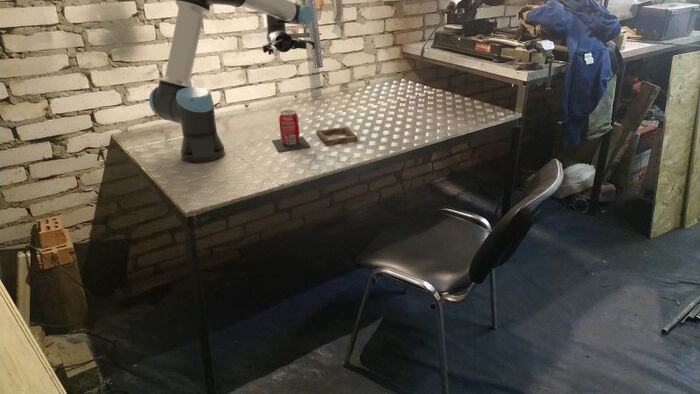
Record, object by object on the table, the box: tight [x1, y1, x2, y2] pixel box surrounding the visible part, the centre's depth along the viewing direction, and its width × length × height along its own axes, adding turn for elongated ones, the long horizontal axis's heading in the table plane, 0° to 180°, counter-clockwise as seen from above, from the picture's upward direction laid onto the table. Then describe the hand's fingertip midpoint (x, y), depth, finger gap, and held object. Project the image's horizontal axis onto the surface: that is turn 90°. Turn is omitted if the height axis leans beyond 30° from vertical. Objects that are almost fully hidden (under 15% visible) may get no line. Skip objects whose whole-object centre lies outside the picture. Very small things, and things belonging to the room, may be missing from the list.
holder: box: [316, 126, 358, 147], centre depth 198 cm, size 12×12×2 cm
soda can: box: [278, 109, 301, 146], centre depth 191 cm, size 7×7×12 cm
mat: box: [271, 136, 311, 153], centre depth 194 cm, size 12×12×1 cm
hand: (293, 50), depth 191 cm, fingers open, 13 cm apart
